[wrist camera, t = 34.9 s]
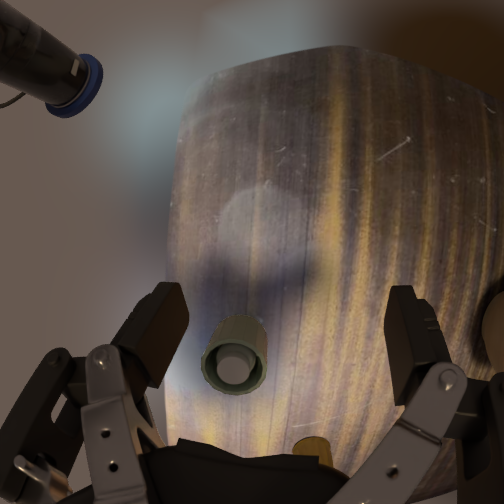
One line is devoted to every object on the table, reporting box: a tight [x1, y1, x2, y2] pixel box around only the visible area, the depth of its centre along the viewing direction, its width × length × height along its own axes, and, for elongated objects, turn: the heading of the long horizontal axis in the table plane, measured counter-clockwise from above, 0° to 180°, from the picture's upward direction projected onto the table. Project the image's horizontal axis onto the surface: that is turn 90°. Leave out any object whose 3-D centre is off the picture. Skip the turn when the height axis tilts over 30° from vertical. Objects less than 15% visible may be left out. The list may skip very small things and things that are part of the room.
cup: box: [201, 315, 268, 395], centre depth 33 cm, size 7×7×8 cm
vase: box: [292, 437, 333, 467], centre depth 32 cm, size 6×6×14 cm
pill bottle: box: [216, 343, 256, 384], centre depth 33 cm, size 4×4×8 cm
